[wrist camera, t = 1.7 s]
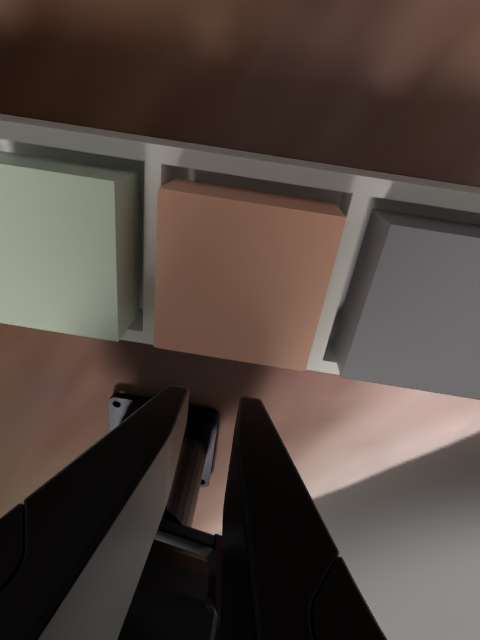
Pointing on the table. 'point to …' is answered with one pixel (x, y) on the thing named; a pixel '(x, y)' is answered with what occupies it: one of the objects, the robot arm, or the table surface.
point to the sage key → (68, 246)
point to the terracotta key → (242, 272)
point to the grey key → (414, 306)
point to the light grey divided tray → (249, 173)
